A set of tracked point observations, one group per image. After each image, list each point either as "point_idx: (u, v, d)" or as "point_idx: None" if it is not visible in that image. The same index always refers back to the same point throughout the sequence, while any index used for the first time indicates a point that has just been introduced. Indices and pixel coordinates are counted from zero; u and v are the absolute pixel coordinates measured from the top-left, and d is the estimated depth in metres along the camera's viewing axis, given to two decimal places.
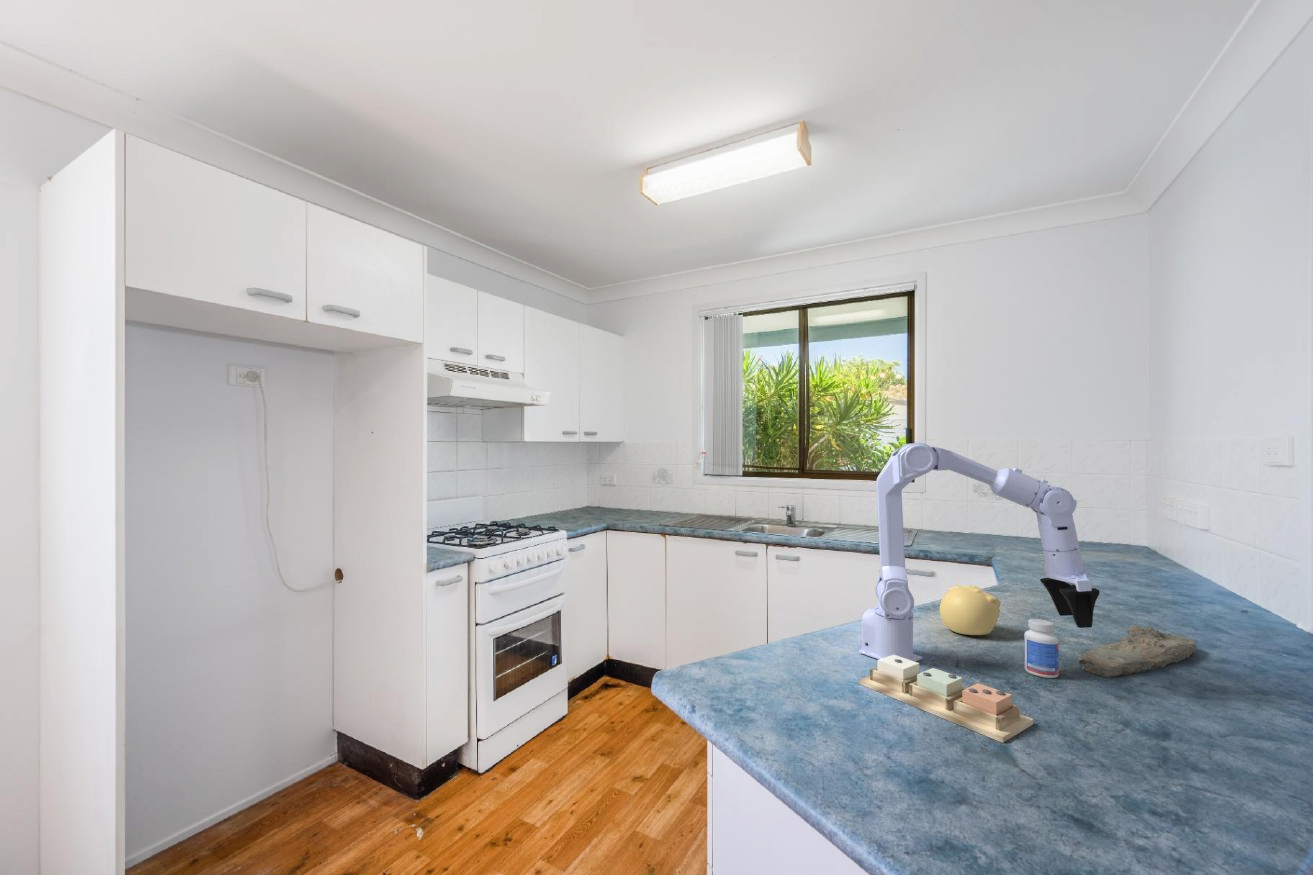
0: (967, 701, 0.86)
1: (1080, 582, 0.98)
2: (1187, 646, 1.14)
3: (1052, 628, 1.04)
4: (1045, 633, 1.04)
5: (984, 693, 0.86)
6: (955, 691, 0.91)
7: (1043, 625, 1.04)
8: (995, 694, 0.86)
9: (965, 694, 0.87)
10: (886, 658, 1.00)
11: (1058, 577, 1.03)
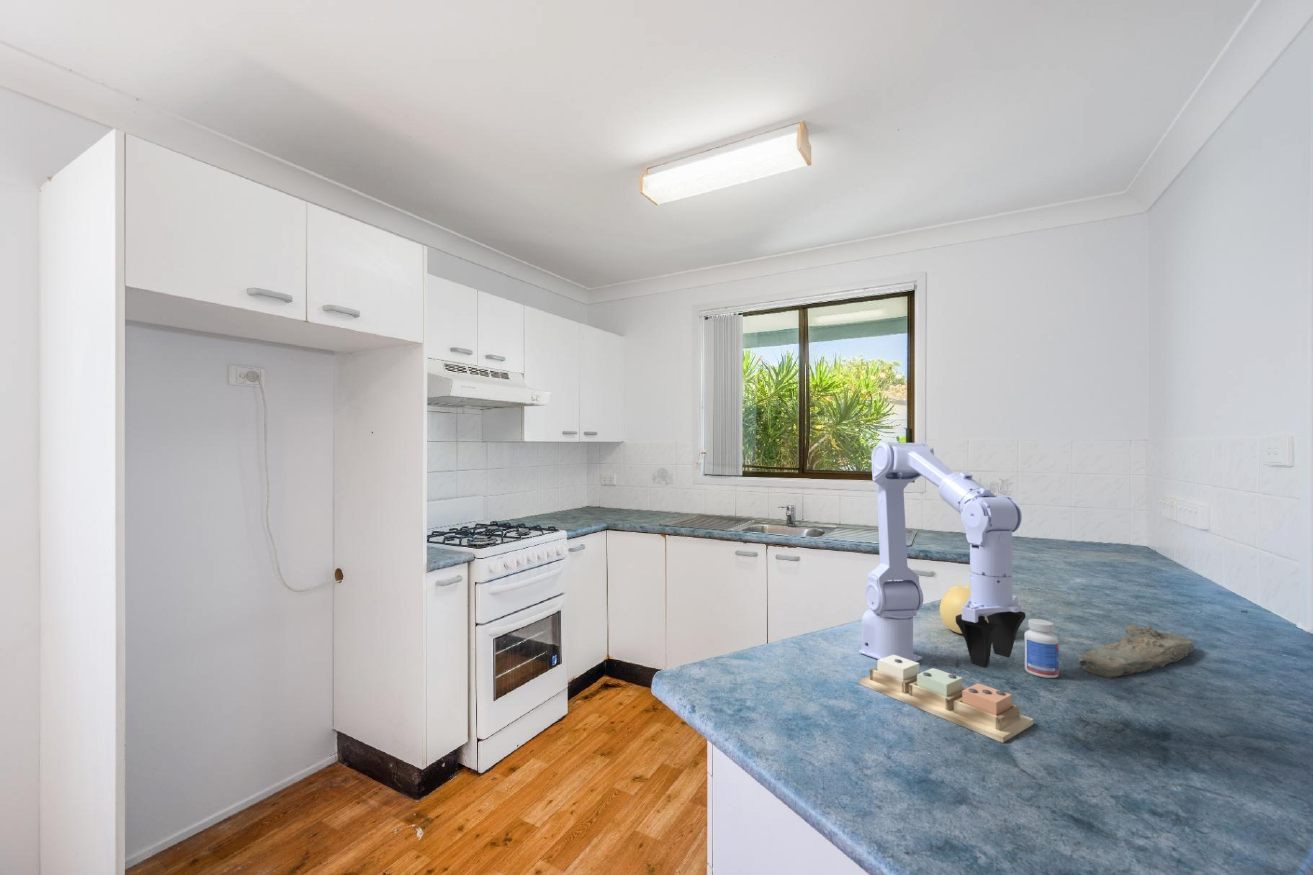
0: (967, 701, 0.86)
1: (965, 609, 0.83)
2: (1185, 645, 1.14)
3: (1052, 628, 1.04)
4: (1045, 633, 1.04)
5: (984, 693, 0.86)
6: (955, 691, 0.91)
7: (1043, 625, 1.04)
8: (995, 694, 0.86)
9: (965, 694, 0.87)
10: (886, 658, 1.00)
11: None
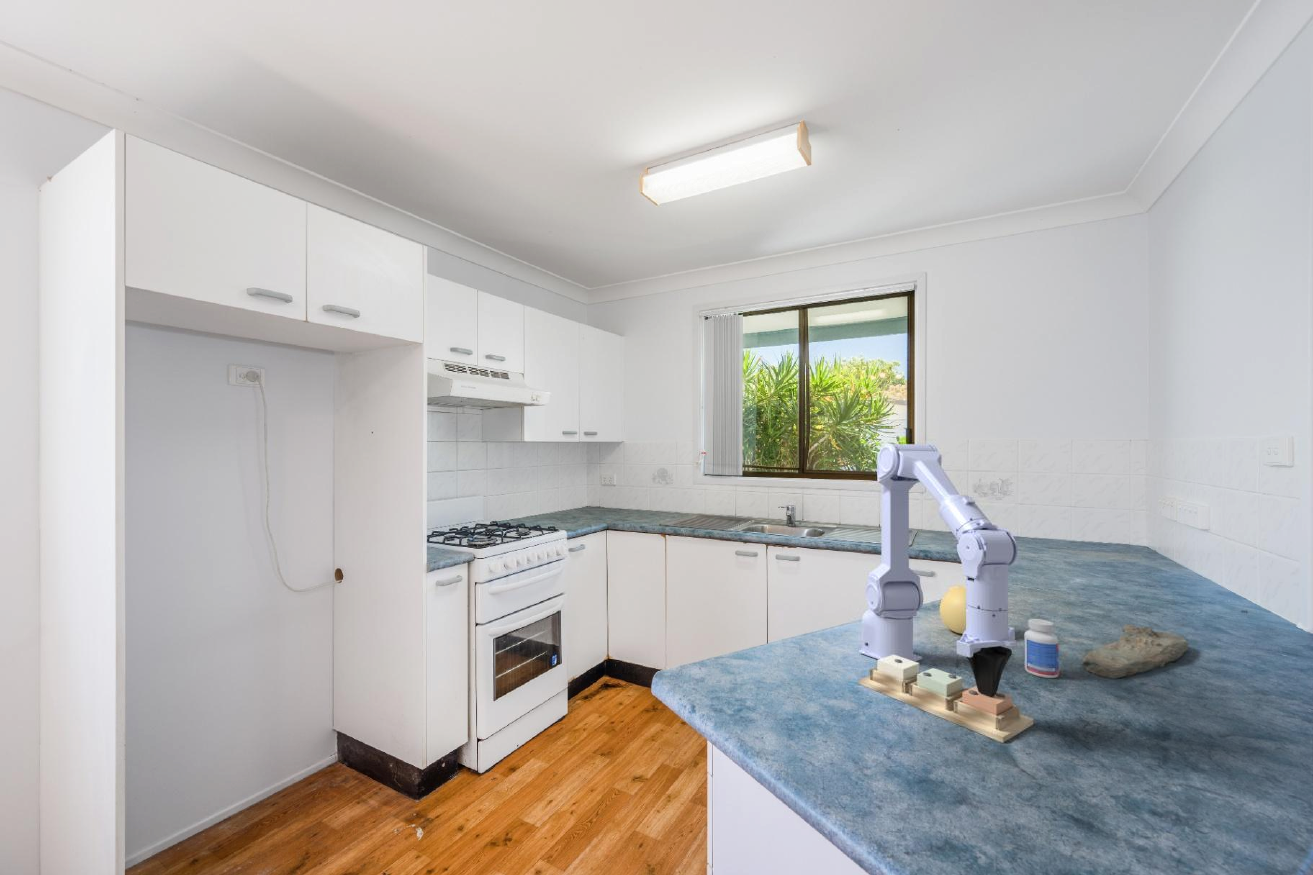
0: (967, 703, 0.86)
1: (960, 643, 0.83)
2: (1181, 644, 1.15)
3: (1052, 628, 1.04)
4: (1045, 633, 1.04)
5: (984, 695, 0.86)
6: (955, 691, 0.91)
7: (1043, 625, 1.04)
8: (995, 696, 0.86)
9: (965, 695, 0.87)
10: (886, 658, 1.00)
11: (963, 634, 0.87)
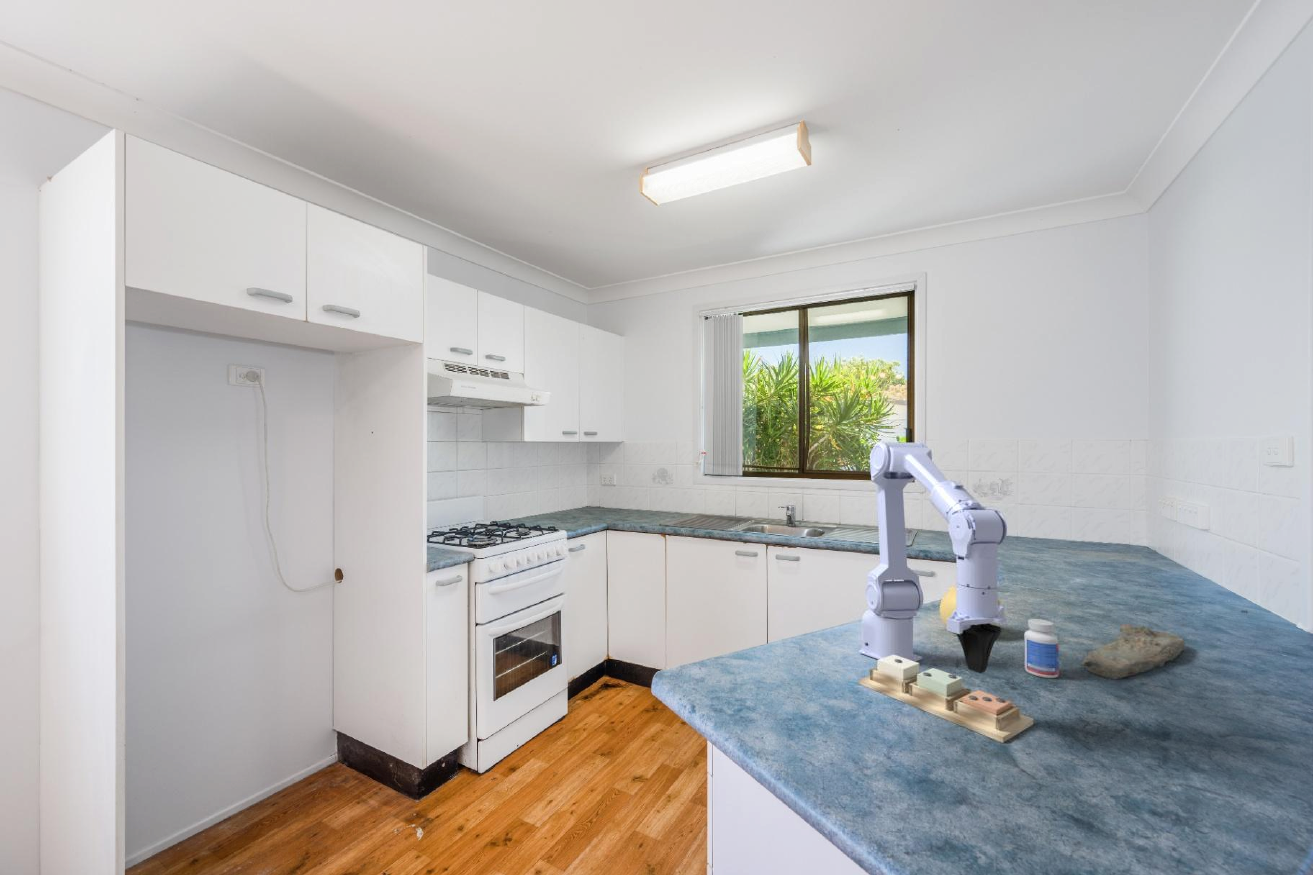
0: None
1: (950, 621, 0.84)
2: (1178, 643, 1.15)
3: (1052, 628, 1.04)
4: (1045, 633, 1.04)
5: (984, 700, 0.86)
6: (955, 691, 0.91)
7: (1043, 625, 1.04)
8: (995, 701, 0.86)
9: (965, 701, 0.87)
10: (886, 658, 1.00)
11: (953, 613, 0.88)
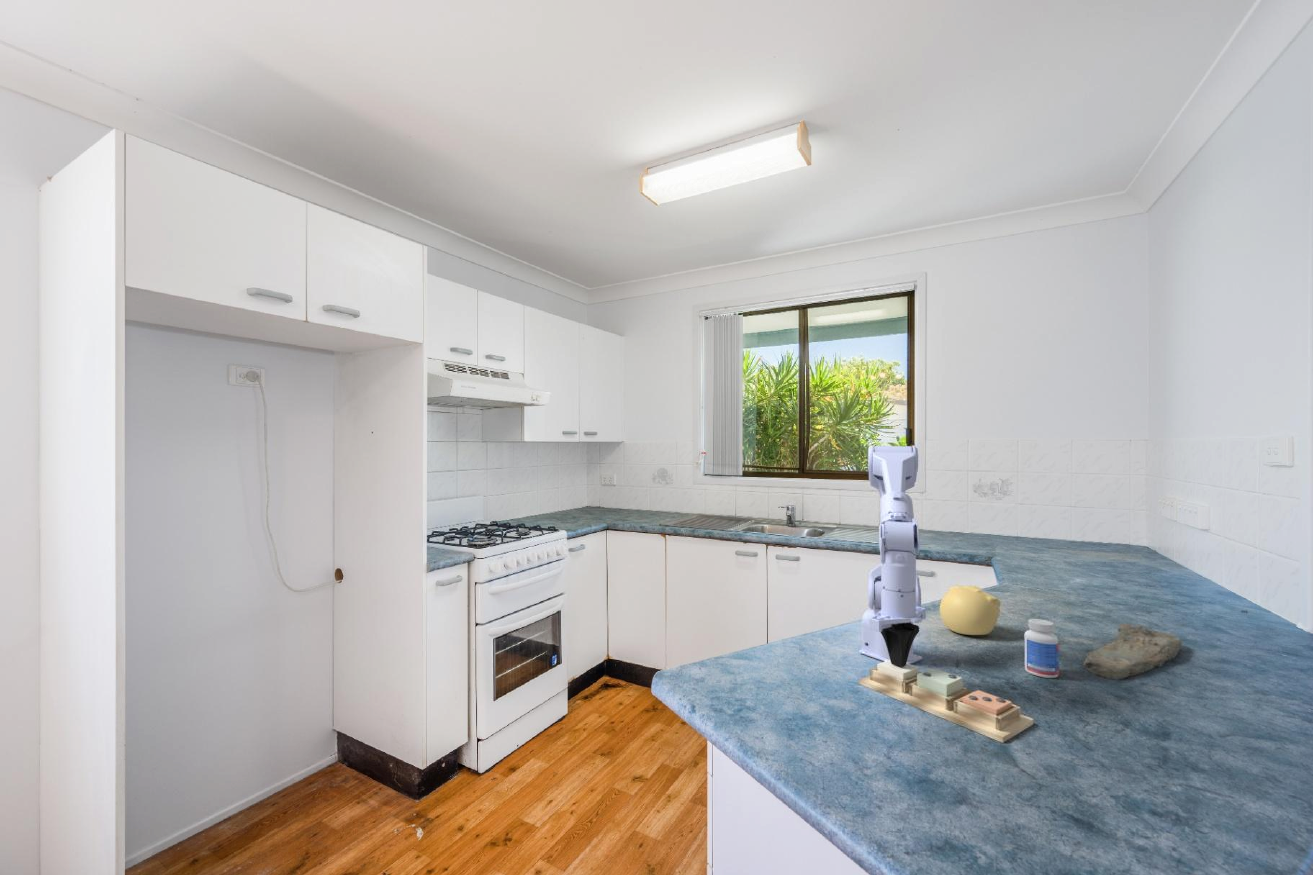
0: None
1: (871, 620, 0.95)
2: (1176, 643, 1.16)
3: (1052, 628, 1.04)
4: (1045, 633, 1.04)
5: (984, 700, 0.86)
6: (955, 691, 0.91)
7: (1043, 625, 1.04)
8: (995, 701, 0.86)
9: (965, 701, 0.87)
10: (886, 662, 1.00)
11: None
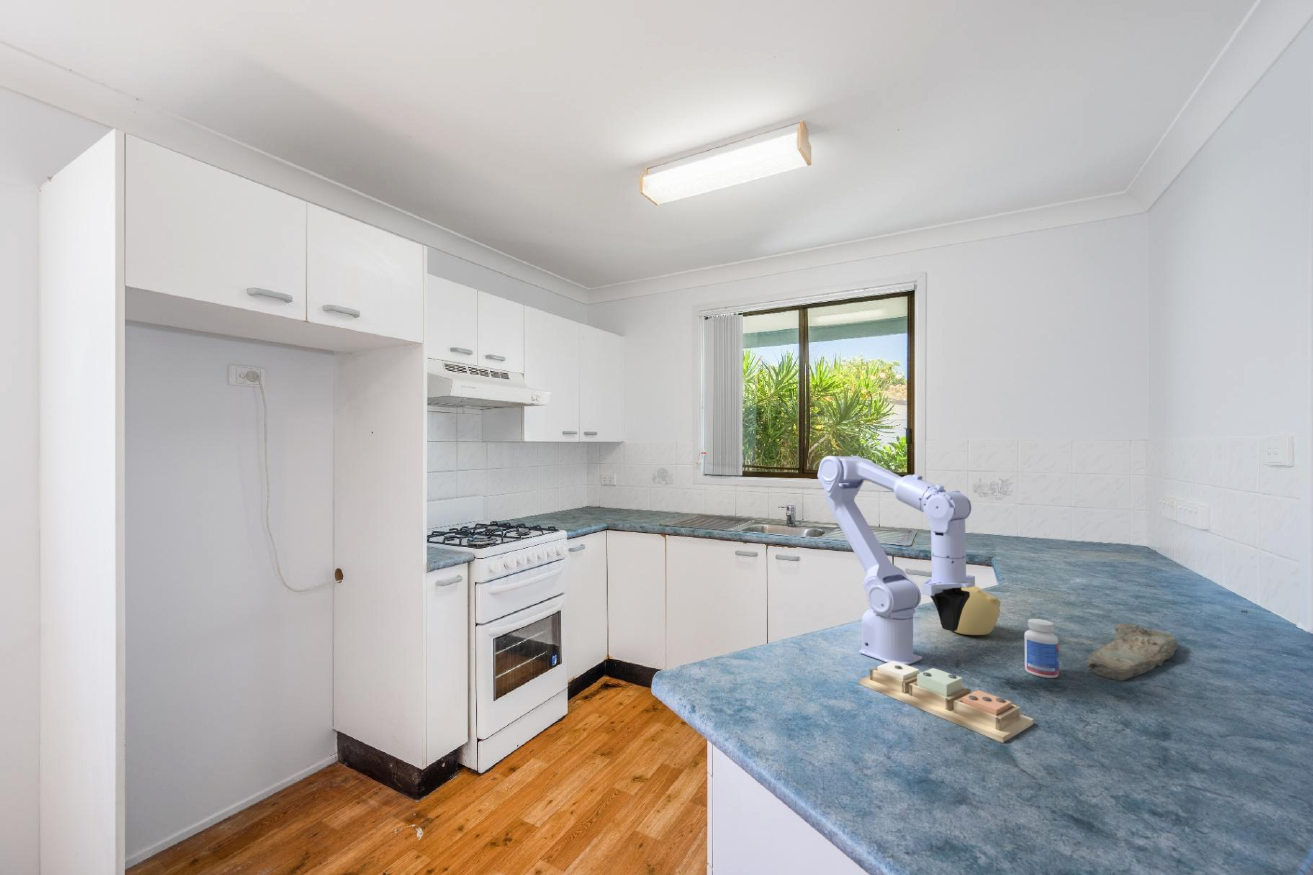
0: None
1: (923, 585, 0.99)
2: (1173, 642, 1.16)
3: (1052, 628, 1.04)
4: (1045, 633, 1.04)
5: (984, 700, 0.86)
6: (955, 691, 0.91)
7: (1043, 625, 1.04)
8: (995, 701, 0.86)
9: (965, 701, 0.87)
10: (886, 664, 1.00)
11: None
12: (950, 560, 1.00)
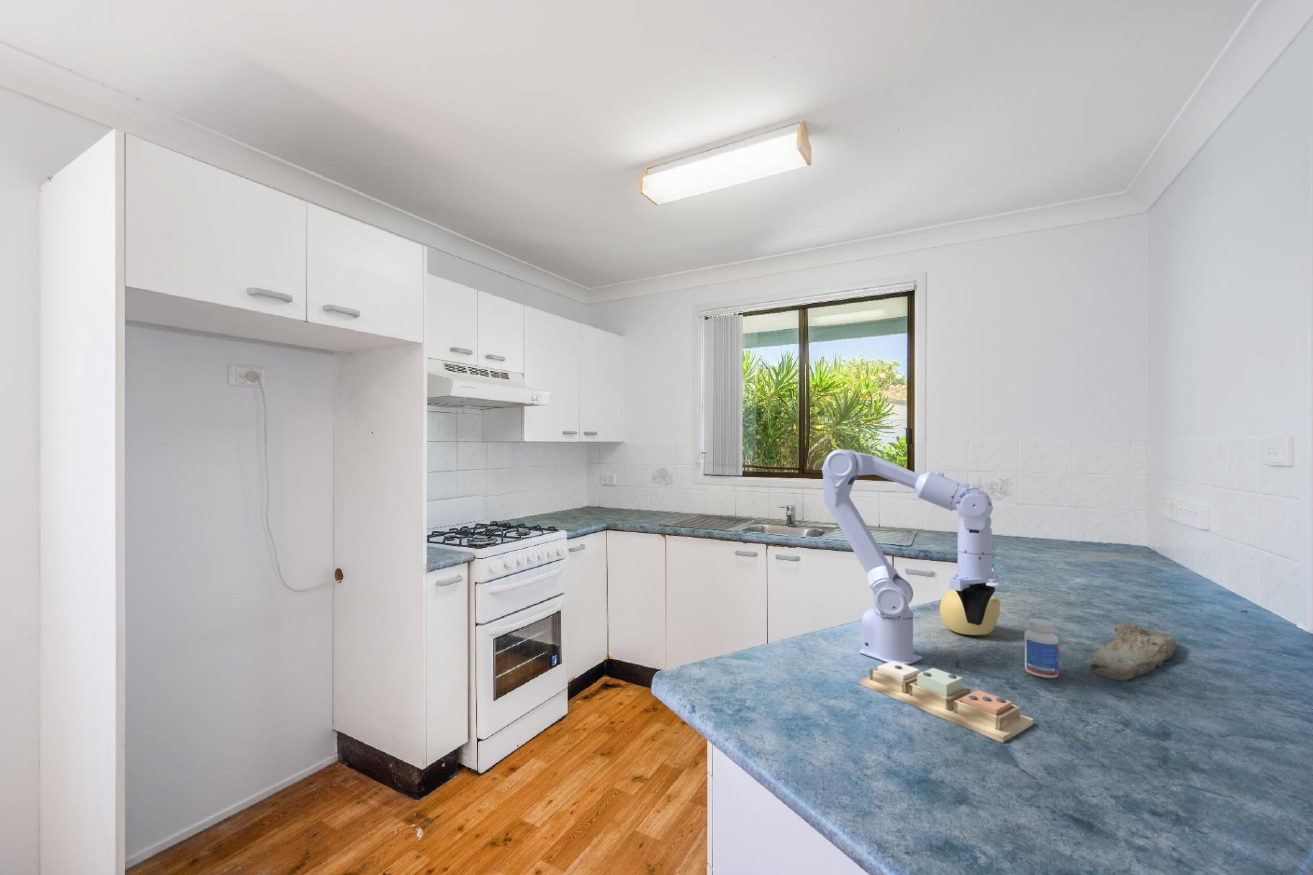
0: None
1: (952, 580, 1.02)
2: (1171, 642, 1.17)
3: (1052, 628, 1.04)
4: (1045, 633, 1.04)
5: (984, 700, 0.86)
6: (955, 691, 0.91)
7: (1043, 625, 1.04)
8: (995, 701, 0.86)
9: (965, 701, 0.87)
10: (886, 664, 1.00)
11: (955, 575, 1.06)
12: (977, 556, 1.03)
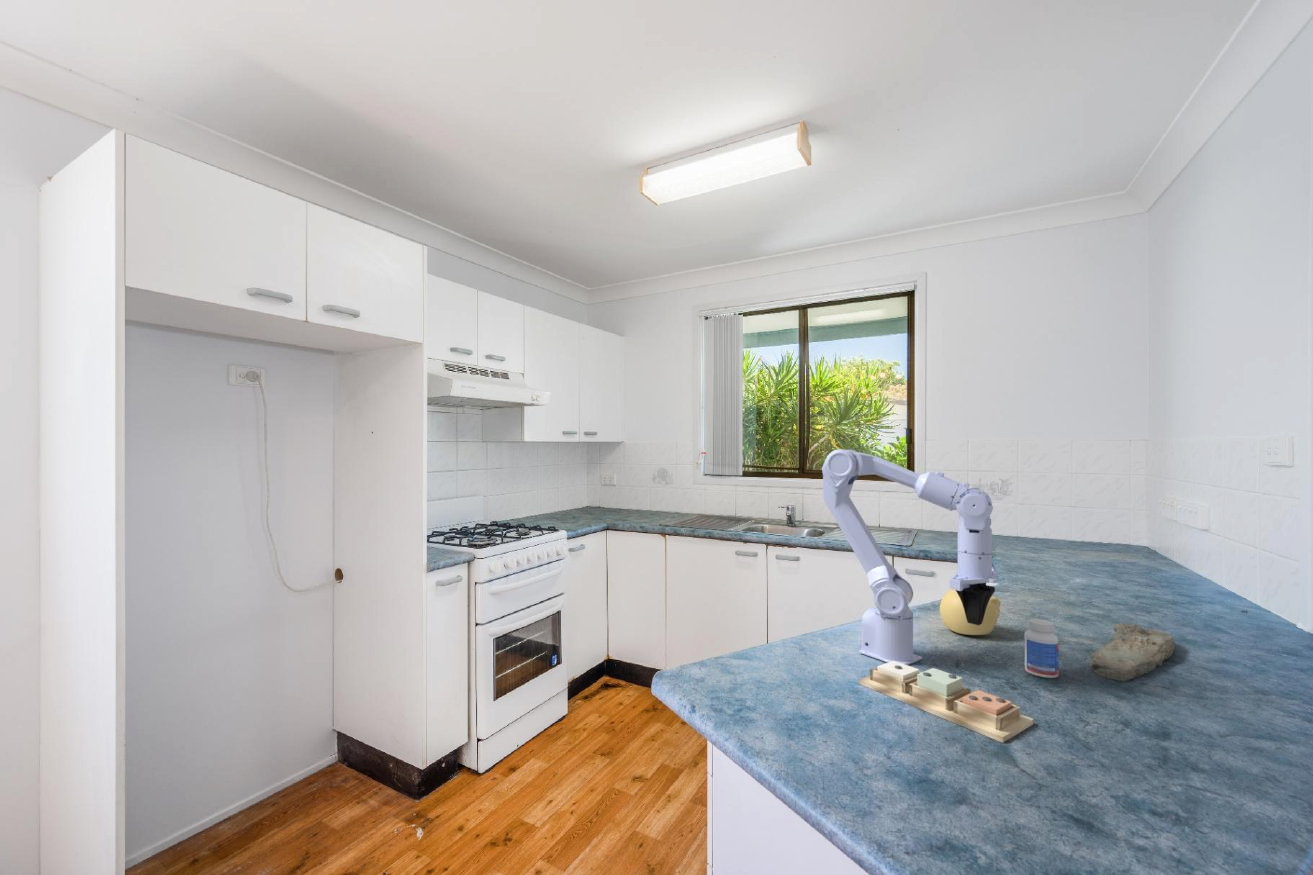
0: None
1: (952, 580, 1.02)
2: (1171, 641, 1.17)
3: (1052, 628, 1.04)
4: (1045, 633, 1.04)
5: (984, 700, 0.86)
6: (955, 691, 0.91)
7: (1043, 625, 1.04)
8: (995, 701, 0.86)
9: (965, 701, 0.87)
10: (886, 664, 1.00)
11: (955, 575, 1.06)
12: (977, 556, 1.03)
